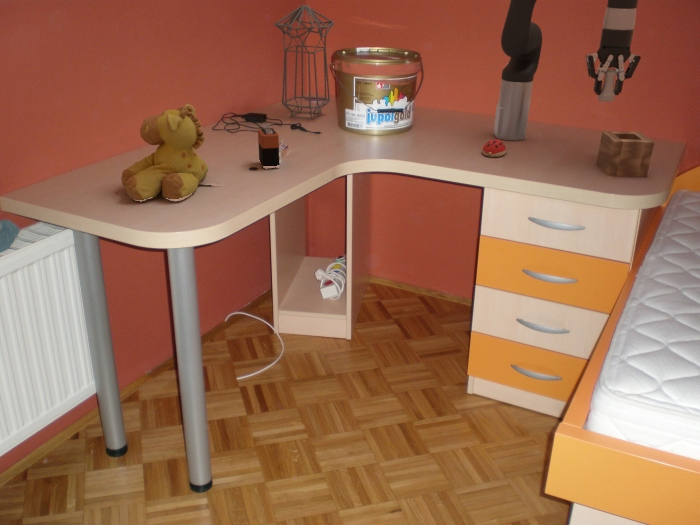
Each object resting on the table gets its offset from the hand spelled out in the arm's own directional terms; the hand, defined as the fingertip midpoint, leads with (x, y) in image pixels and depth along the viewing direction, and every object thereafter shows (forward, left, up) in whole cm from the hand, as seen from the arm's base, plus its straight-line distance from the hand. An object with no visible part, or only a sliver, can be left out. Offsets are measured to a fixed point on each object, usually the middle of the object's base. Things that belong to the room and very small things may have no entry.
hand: (606, 94), depth 175 cm
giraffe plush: (-109, -34, -18) cm, 116 cm away
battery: (-89, -15, -18) cm, 92 cm away
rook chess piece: (0, 0, -2) cm, 2 cm away
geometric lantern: (-85, +39, -18) cm, 95 cm away
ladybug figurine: (-28, +3, -18) cm, 33 cm away
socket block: (+4, -10, -18) cm, 21 cm away
